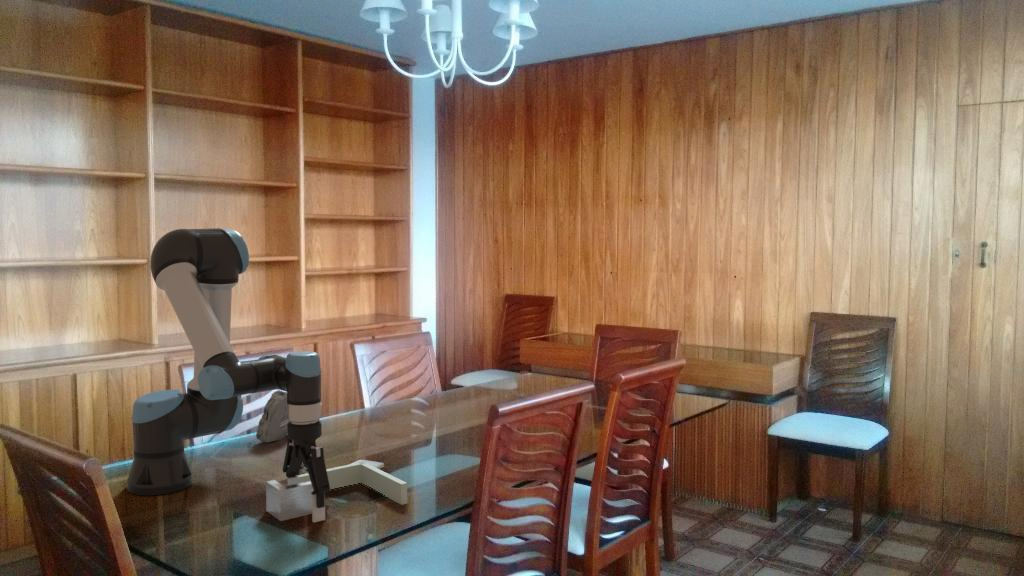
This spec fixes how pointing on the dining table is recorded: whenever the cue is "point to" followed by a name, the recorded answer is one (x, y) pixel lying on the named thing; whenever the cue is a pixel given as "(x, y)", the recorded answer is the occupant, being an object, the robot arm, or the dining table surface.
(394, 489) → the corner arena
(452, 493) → the dining table surface
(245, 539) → the dining table surface
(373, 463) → the hard drive
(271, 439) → the decorative rock
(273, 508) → the bracket
